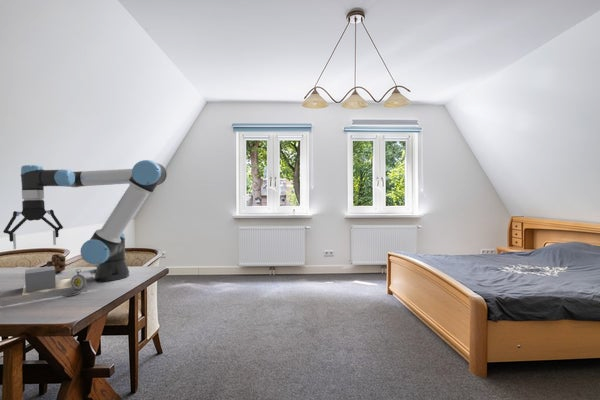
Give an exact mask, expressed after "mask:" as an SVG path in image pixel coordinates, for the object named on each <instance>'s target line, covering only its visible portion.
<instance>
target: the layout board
mask: <svg viewBox="0 0 600 400" xmlns="http://www.w3.org/2000/svg"><path fill="white" fill-rule="evenodd" d="M72 278H73V277H71V278H65V279H60V280H58V279H56V280H55V283H56V288H50V289H44V290H37V291H31V292H26V289H25V284H24V285H23V288H22V293H21V295H22V296H28V295H34V294H39V293H46V292H51V291H58V290H64V289H69V288H73V287H72V285H71V279H72ZM76 284H77V283H76ZM80 284H82V283H80ZM77 285H78V284H77ZM78 286H79V285H78ZM86 286H87V283H86Z"/></svg>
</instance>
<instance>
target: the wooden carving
mask: <svg viewBox="0 0 600 400" xmlns="http://www.w3.org/2000/svg"><path fill="white" fill-rule="evenodd" d="M67 265H68V264H67V262H66V256H65V255H64V254H63V253H55V254H52V256H51V260H47V262H46V267H50V266H54V267H55V273H61V272H63V271H65V270H66V266H67Z"/></svg>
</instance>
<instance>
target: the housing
mask: <svg viewBox="0 0 600 400" xmlns="http://www.w3.org/2000/svg"><path fill="white" fill-rule="evenodd" d="M55 281H56V272H55V267H54V266H50V267H47V266H46V267H45V266H43V267H35V268H27V269H25V273H24V282H25V283H24V285H25V289H26V292H31V291H37V290H44V289H50V288H56V283H55Z"/></svg>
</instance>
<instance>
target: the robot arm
mask: <svg viewBox="0 0 600 400" xmlns="http://www.w3.org/2000/svg"><path fill="white" fill-rule="evenodd" d="M167 175H168V173H167V170H166V168H165V167H164V165H162V164H160V163H157V162H155V161H153V160H150V159H143V160H139V161H137V162H136V163H135V164H134V165H133V166H132V168H123V169H121V168H120V169H104V170H86V171H85V170H83V171H72V170H70V169H63V168H61V169H44V168H43V166H42V165H36V164H33V165H31V164H25V165H22V166H21V167H20V178H21V181H20V182H21V199H22V201H21V204H22V205H21V206H22V210H21V211H15V210H14V211H13V212H12V217H11V218H10V220H9V222H8V223H7V225H6V226H5V228H4V230H3V233H4V234H8V237H9V242H10V243H11V242H13V245H12V246H13V250H16V249H17V239H16V233H15V232H16V231H17V230H18V229H19V228H20V227H21V226H22V225H23V224H25V222H26V221H40V220H43V221H44V222H45V223H46V224H47V225H48V226H49V227H51V228H53V230H52V239H53V240H52V241H53V243H52V244H53V246H56V245H57V240H56V239H57V238H59V232H60V230H63V228H64V226H63V224H61V221H60V220H59V219H58V218H57V216H56V215H55V211H54V210H53V209H50V210H46V209H45V207H46V205H45V200H44V198H45V191H44V188H45V187H64V188H65V187H70V188H81V187H93V186H94V187H95V186H110V185H126V184H127V185H128V184H129V185H128V187H127V189H126V190H125V191H124V193H123V194H122V196H121V197H120V199H119V200H118V202H117V204H116V205H115V207H114V209H113V210H112V212H111V213H110V215H109V216H108V217H107V220H106V221H105V222H104V224H103V225H102V227H101V228H100V229H96V230H95V231H94V233H93V235H92V236H91V238H89V240H86V241H85V242H84V243H82V245H81V247H80V256H81V258H82V259H83V260H84V262H85V263H88V264H91V265H96V264H98V267H97V268H96V270H95V274H94V280H95V281H97V282H108V281H110V282H111V281H118V280H121V279H125V278H128V277H129V276H130V269H129V267H128V265H127V261H126V238H125V237H126V236H125V233H124V231H125V230H126V228H127V227H128V225H129V223H130V221H131V220H132V219H133V217H134V216H135V214H136V213H137V211H138V209H139V208H140V206H141V204H143V201H144V200H145V198H146V197H147V196H148V194H153V192H154V190H155V189H156V187H157V186H160V185H162V184H163V183H164V182H165V181H166V180H167ZM46 214H47V215H50V216H51V218H52V219H53V221H54V222H55V224H56V225H57V226H56V225H55V224H53V223H52V222H51V221H50V220H49V219H48V218H46V217H44V216H46ZM20 215H22V216H23V218H22V219H21V220H19V222H18V223H17V224H16V225H15V226H14V227H13V228H12V229H11V230H10V228H11V226H12V225H13V224H14V222H15V221H16V218H17V217H19V216H20Z"/></svg>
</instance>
